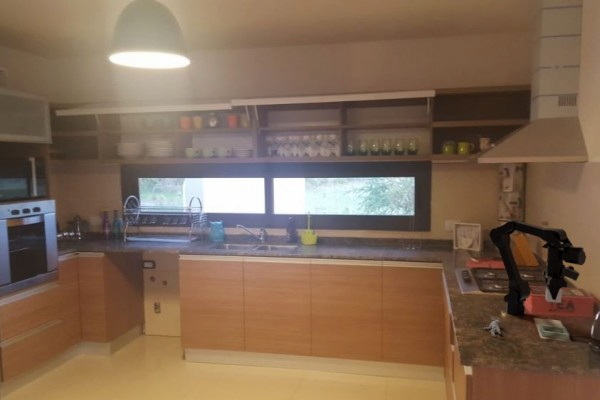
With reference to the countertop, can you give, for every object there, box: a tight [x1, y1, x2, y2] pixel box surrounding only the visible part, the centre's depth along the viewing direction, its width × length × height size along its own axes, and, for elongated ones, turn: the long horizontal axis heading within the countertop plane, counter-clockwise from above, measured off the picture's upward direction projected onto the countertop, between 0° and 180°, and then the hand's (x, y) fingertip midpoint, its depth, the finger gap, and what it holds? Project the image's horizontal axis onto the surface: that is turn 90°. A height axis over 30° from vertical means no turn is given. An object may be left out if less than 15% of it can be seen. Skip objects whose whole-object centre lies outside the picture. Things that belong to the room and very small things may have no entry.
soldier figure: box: [482, 317, 502, 338], centre depth 181 cm, size 8×5×12 cm
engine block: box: [544, 286, 563, 304], centre depth 184 cm, size 5×4×5 cm
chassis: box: [533, 317, 572, 344], centre depth 181 cm, size 10×23×3 cm, turn 159°
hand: (553, 298), depth 184 cm, fingers closed on engine block, 4 cm apart
